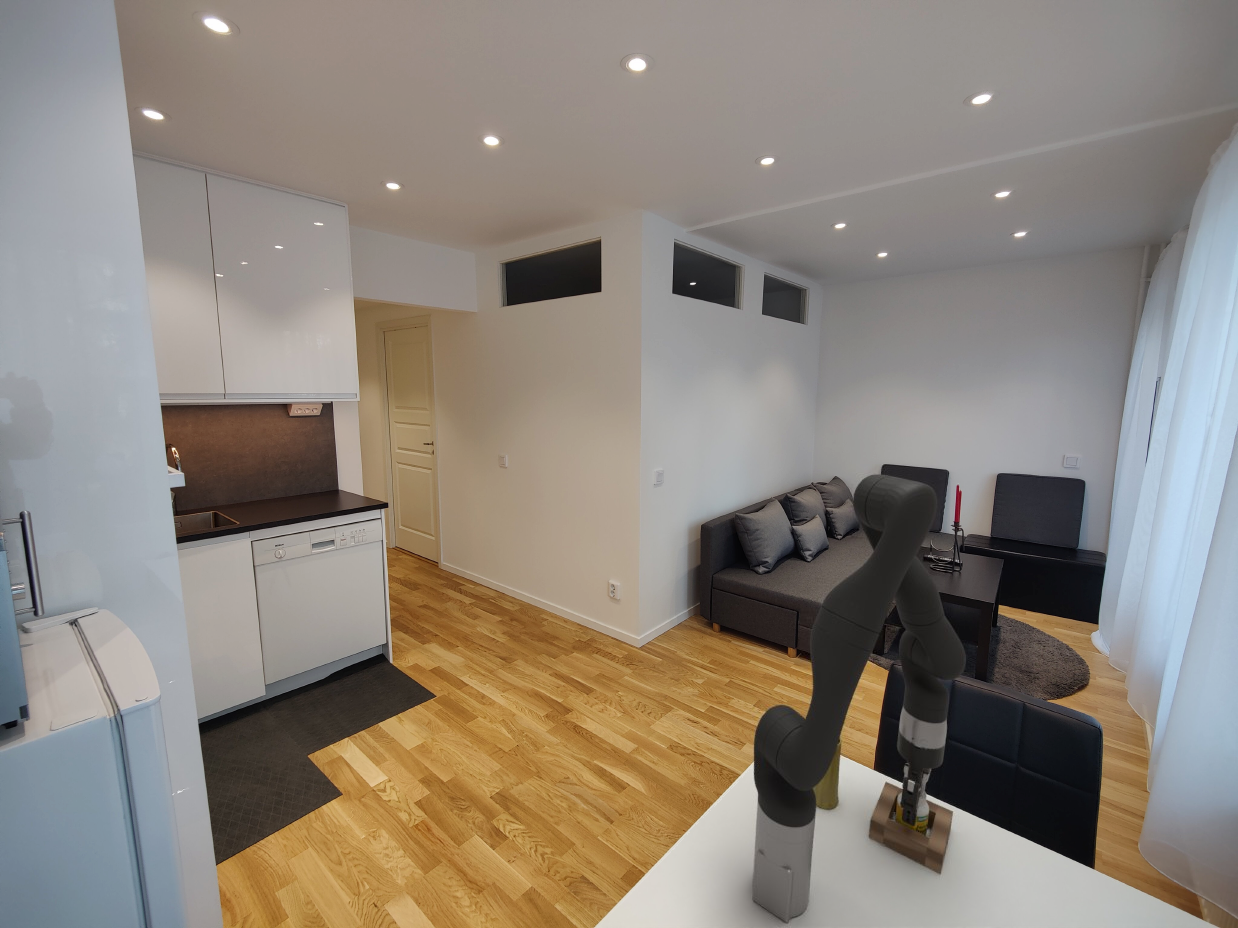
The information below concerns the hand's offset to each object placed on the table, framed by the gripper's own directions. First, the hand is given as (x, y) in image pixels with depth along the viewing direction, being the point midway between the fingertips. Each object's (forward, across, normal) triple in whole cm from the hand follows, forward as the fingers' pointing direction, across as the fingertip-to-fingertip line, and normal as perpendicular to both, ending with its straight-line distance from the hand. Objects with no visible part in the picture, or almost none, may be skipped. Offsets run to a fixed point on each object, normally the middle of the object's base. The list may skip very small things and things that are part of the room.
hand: (913, 808), depth 102 cm
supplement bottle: (+6, 0, 0) cm, 6 cm away
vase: (+6, +2, -16) cm, 17 cm away
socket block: (+6, 0, 0) cm, 6 cm away
